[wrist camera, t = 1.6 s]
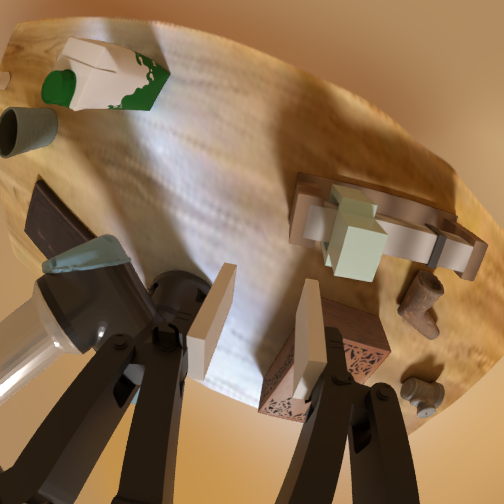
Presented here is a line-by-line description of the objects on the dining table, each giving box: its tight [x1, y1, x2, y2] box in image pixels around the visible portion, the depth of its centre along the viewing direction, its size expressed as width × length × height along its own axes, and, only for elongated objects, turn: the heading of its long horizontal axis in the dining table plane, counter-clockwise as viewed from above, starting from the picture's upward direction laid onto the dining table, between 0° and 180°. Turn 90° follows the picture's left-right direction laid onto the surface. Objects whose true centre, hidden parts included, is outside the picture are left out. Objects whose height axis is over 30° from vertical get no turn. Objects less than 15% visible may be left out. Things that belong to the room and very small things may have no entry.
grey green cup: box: [0, 107, 58, 159], centre depth 34 cm, size 10×10×12 cm
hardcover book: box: [24, 180, 95, 260], centre depth 50 cm, size 16×23×2 cm
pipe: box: [397, 270, 444, 340], centre depth 42 cm, size 6×17×10 cm
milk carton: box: [41, 37, 170, 111], centre depth 26 cm, size 9×9×20 cm
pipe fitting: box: [400, 377, 445, 418], centre depth 49 cm, size 12×8×10 cm, turn 65°
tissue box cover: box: [258, 297, 391, 423], centre depth 48 cm, size 26×14×10 cm, turn 162°
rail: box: [289, 172, 488, 281], centre depth 34 cm, size 29×8×11 cm, turn 82°
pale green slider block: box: [320, 184, 388, 282], centre depth 29 cm, size 4×8×13 cm, turn 172°
